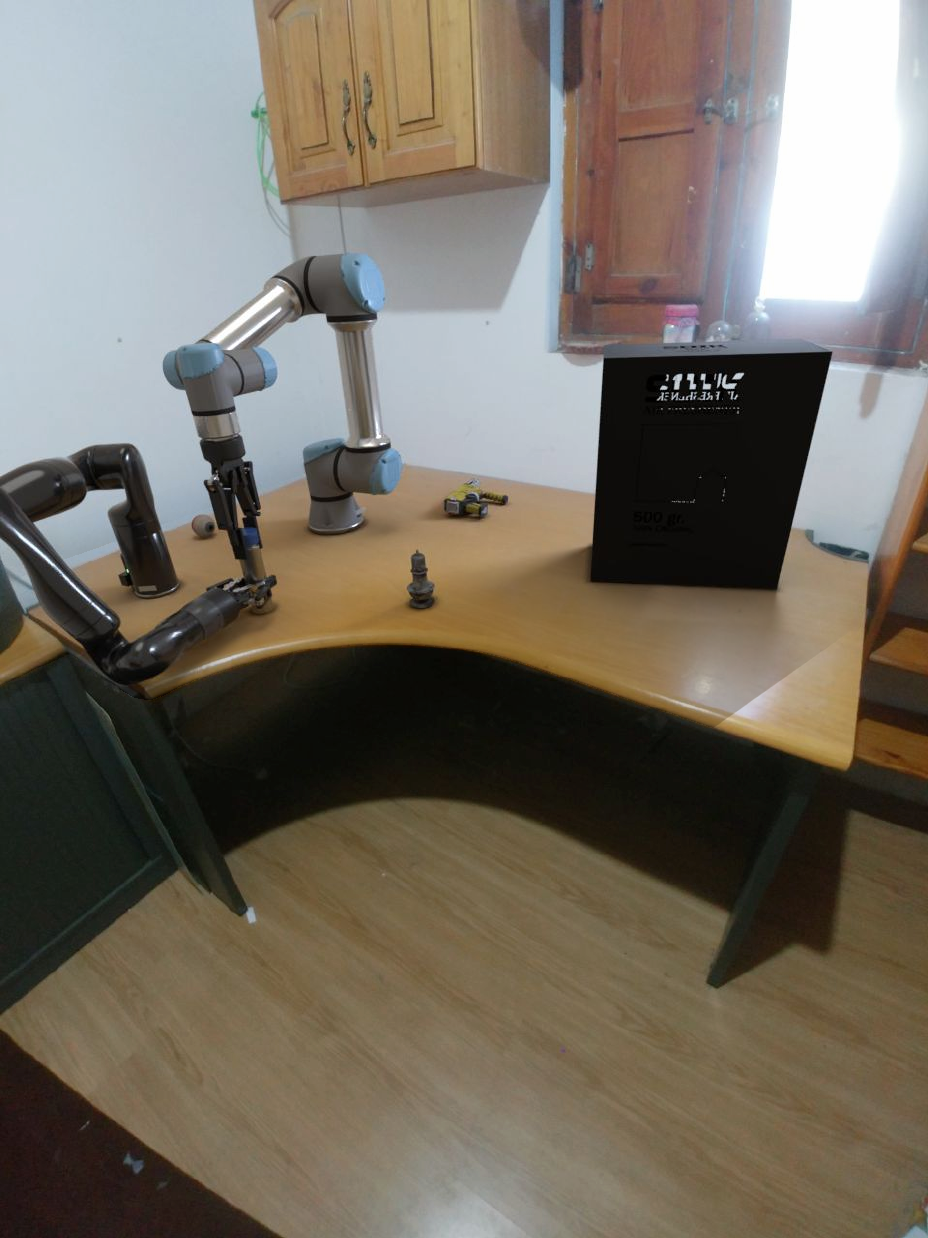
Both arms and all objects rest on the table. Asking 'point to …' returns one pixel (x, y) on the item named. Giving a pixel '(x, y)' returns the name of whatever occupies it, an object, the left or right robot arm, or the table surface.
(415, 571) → the grey chess piece
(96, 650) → the left robot arm
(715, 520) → the cardboard box
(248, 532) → the lid
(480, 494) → the toy gun
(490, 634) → the table surface
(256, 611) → the bottle
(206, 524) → the eyeball
